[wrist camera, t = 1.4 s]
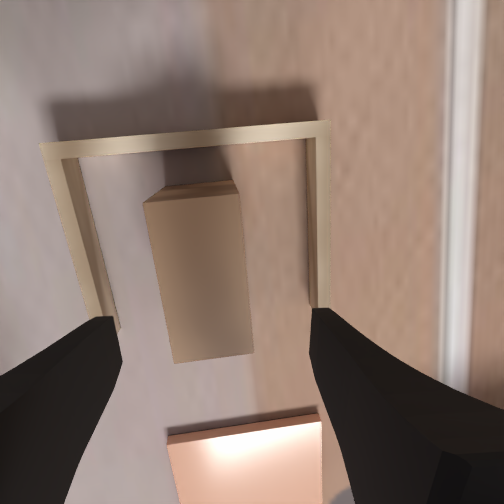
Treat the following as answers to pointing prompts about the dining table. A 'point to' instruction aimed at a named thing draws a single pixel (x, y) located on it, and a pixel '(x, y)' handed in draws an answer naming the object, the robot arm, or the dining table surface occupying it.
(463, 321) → the dining table surface
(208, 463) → the terracotta tile
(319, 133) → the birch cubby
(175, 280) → the walnut block
